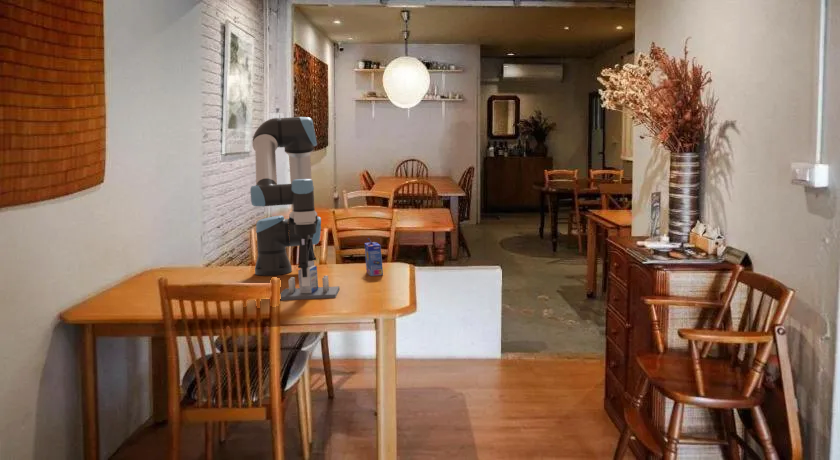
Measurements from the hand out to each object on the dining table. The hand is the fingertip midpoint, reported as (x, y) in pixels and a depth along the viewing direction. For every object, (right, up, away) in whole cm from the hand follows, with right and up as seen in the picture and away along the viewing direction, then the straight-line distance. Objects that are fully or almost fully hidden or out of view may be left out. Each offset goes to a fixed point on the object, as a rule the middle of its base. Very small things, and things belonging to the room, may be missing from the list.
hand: (308, 282), depth 277 cm
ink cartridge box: (+21, +1, +36) cm, 42 cm away
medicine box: (0, -3, 0) cm, 4 cm away
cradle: (0, -4, +1) cm, 4 cm away
